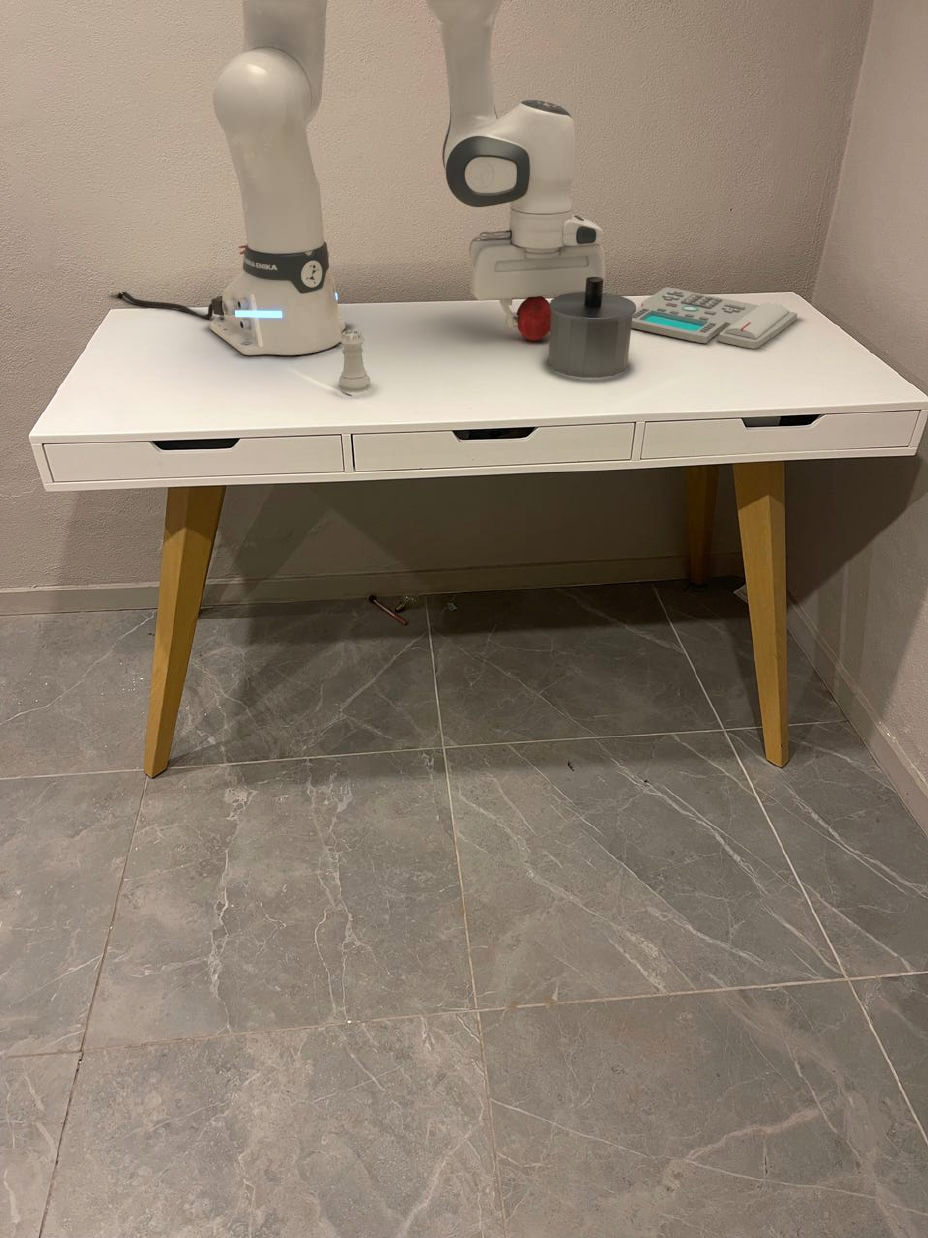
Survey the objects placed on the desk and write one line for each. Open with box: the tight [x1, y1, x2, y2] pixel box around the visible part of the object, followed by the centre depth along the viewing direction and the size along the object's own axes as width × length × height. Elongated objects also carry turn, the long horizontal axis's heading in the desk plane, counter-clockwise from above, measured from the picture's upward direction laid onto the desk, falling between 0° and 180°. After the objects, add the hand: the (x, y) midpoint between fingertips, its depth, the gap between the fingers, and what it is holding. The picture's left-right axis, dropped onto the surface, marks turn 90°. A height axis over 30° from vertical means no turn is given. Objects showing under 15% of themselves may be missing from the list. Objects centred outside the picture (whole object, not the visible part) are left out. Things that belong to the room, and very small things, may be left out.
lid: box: [549, 277, 637, 322], centre depth 134 cm, size 12×12×5 cm
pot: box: [547, 311, 632, 379], centre depth 138 cm, size 11×11×8 cm
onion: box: [515, 296, 551, 342], centre depth 146 cm, size 6×6×8 cm
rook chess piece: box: [338, 329, 372, 397], centre depth 130 cm, size 4×4×8 cm
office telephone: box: [631, 286, 798, 350], centre depth 155 cm, size 23×3×20 cm
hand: (535, 324), depth 146 cm, fingers closed on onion, 6 cm apart
